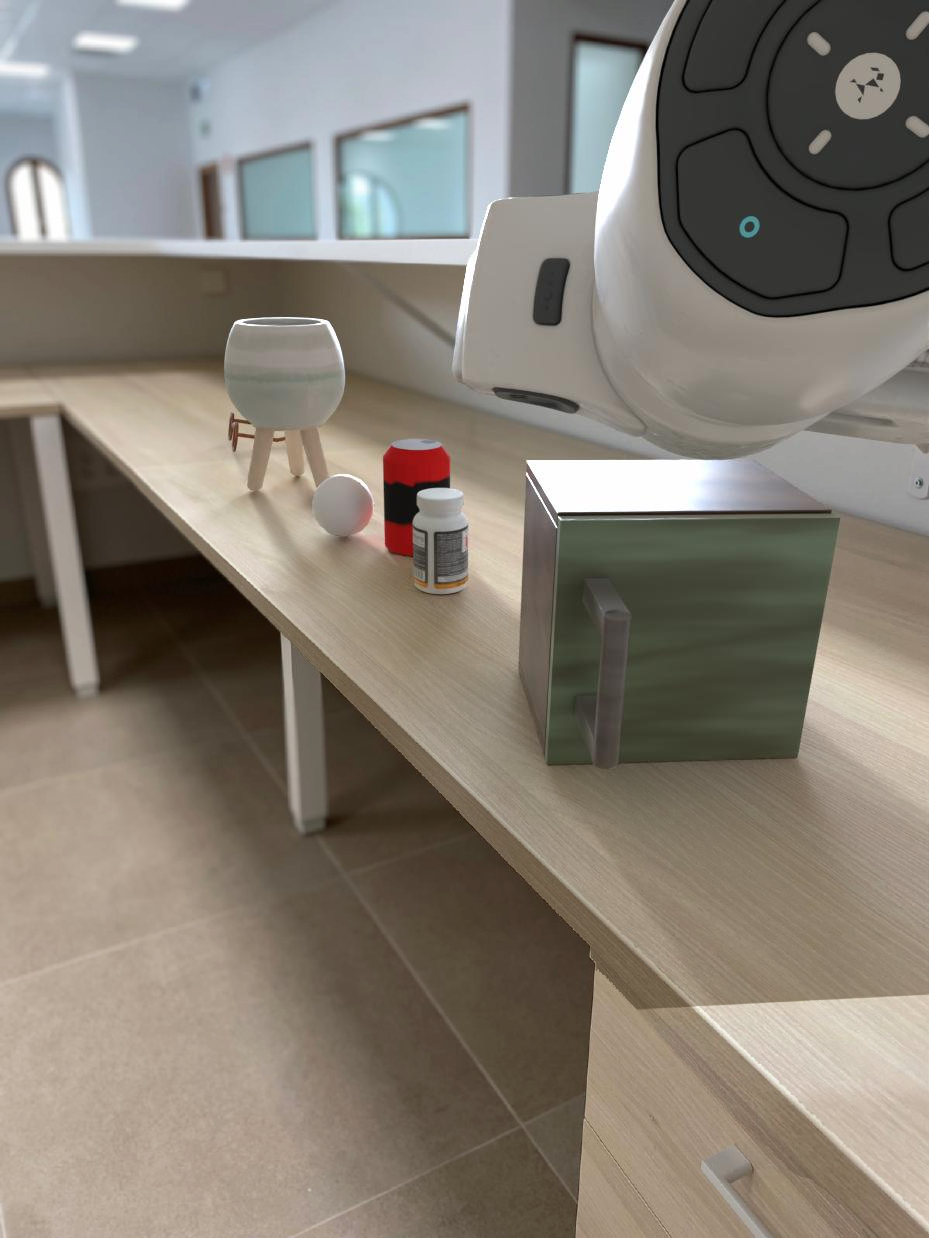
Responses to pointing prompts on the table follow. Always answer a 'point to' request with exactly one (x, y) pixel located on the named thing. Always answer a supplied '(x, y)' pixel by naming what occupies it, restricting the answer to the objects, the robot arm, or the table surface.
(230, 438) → the glasses
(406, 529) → the soda can
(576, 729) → the cupboard door
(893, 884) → the table surface
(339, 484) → the white ovoid
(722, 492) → the cupboard
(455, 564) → the pill bottle
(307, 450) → the planter
